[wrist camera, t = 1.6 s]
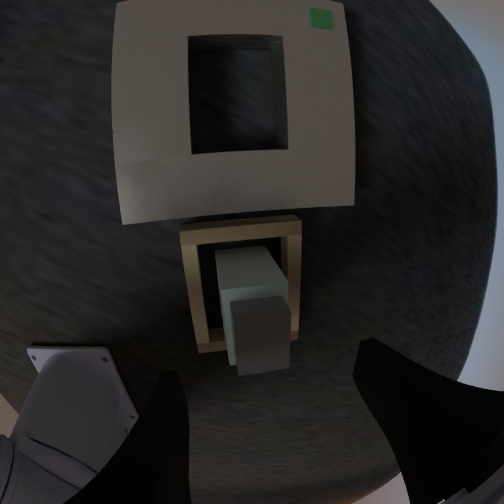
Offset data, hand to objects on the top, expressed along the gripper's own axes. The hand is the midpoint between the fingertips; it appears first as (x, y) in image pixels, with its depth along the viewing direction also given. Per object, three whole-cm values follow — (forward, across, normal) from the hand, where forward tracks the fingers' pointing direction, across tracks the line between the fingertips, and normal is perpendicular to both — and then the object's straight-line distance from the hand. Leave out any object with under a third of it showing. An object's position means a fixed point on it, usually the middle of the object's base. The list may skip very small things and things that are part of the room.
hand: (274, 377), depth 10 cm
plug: (+8, 0, 0) cm, 8 cm away
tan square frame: (+8, 0, 0) cm, 8 cm away
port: (+8, 0, -11) cm, 14 cm away
